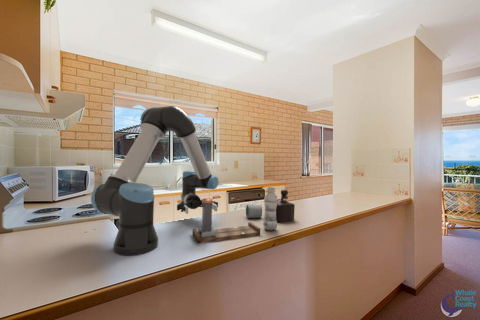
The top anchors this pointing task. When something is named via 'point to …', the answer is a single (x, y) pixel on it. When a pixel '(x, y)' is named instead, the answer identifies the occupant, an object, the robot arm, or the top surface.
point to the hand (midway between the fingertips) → (202, 209)
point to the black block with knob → (284, 208)
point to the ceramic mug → (253, 211)
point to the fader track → (228, 233)
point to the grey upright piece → (207, 219)
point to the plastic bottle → (270, 209)
